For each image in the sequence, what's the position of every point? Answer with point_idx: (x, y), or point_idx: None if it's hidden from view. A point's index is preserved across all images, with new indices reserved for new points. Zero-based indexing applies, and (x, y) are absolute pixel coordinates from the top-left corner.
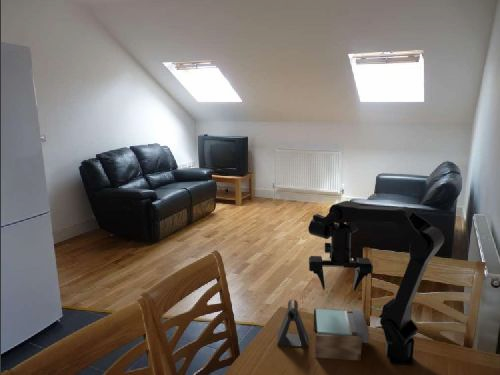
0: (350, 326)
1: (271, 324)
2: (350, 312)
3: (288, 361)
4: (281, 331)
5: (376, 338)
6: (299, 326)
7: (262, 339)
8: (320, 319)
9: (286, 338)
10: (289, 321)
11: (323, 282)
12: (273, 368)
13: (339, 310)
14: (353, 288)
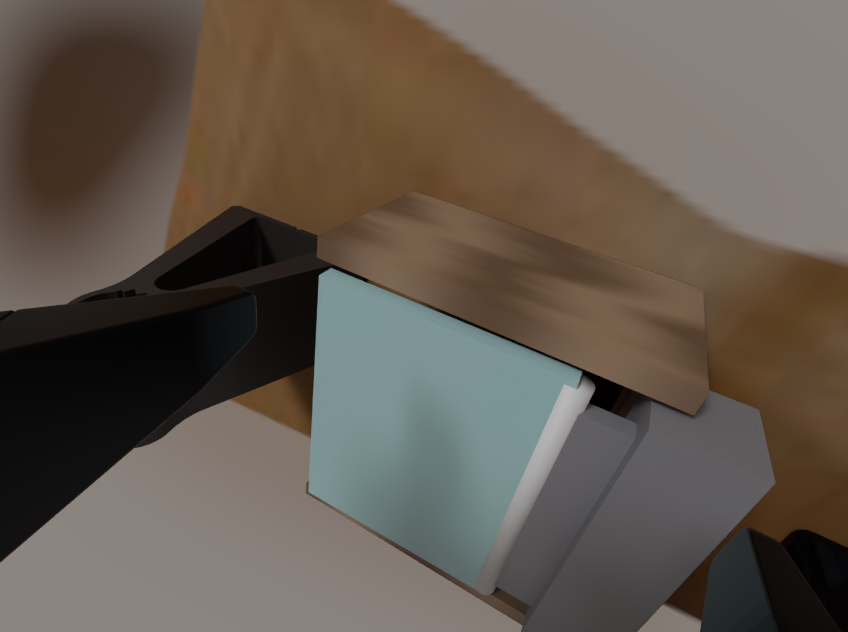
0: (513, 551)
1: (198, 101)
2: (639, 388)
3: (285, 389)
4: None
5: (835, 423)
6: (237, 393)
7: (186, 230)
8: (336, 409)
9: (269, 261)
10: None
11: (104, 461)
12: (244, 399)
13: (531, 334)
14: (728, 587)
